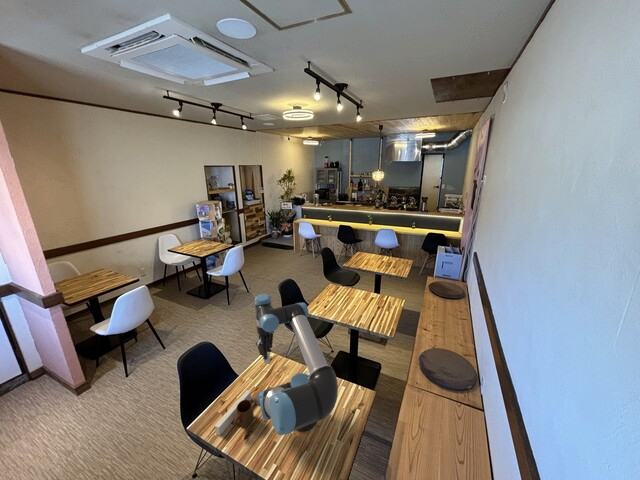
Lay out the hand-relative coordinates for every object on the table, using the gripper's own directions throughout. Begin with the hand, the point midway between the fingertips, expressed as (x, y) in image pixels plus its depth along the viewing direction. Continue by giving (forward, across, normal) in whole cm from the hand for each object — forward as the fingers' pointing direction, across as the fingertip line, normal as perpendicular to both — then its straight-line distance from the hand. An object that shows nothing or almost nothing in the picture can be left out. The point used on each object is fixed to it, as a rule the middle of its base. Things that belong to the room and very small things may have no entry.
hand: (267, 362), depth 134 cm
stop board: (+23, +16, -10) cm, 30 cm away
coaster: (+24, +2, -3) cm, 24 cm away
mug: (+24, +18, -3) cm, 30 cm away
